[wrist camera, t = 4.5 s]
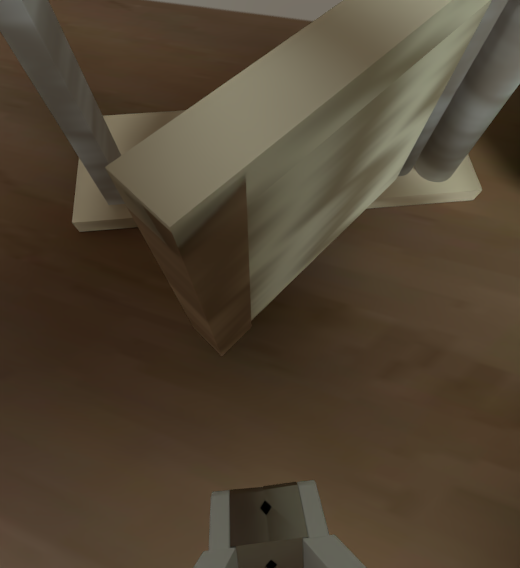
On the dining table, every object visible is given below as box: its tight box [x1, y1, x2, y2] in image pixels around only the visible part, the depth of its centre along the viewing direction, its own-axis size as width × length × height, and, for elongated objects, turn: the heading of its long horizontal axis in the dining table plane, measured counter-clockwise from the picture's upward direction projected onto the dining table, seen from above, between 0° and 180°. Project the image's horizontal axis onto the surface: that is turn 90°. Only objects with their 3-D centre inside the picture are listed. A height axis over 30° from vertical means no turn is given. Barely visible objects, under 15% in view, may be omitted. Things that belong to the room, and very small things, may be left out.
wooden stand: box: [0, 0, 520, 232], centre depth 18 cm, size 24×8×14 cm, turn 96°
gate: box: [105, 0, 508, 356], centre depth 15 cm, size 16×2×12 cm, turn 136°
